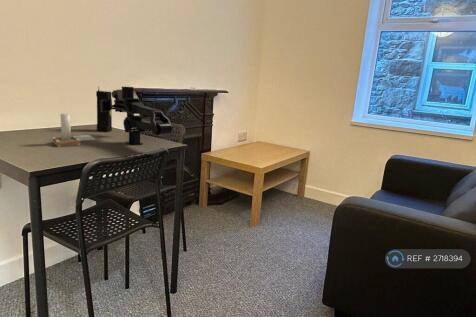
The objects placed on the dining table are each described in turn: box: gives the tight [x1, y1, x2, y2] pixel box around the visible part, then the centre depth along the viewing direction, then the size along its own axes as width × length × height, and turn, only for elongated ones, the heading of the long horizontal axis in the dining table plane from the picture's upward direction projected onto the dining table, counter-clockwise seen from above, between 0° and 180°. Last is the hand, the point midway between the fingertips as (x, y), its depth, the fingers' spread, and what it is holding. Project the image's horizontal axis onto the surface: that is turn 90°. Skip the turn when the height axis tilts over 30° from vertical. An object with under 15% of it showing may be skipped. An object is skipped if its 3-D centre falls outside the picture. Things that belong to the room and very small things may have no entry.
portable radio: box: [95, 86, 113, 133], centre depth 198 cm, size 8×6×25 cm
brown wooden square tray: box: [51, 135, 82, 148], centre depth 162 cm, size 10×10×2 cm
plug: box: [59, 113, 73, 141], centre depth 161 cm, size 6×6×14 cm
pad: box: [71, 134, 97, 142], centre depth 176 cm, size 10×10×1 cm
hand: (110, 104), depth 188 cm, fingers open, 9 cm apart
